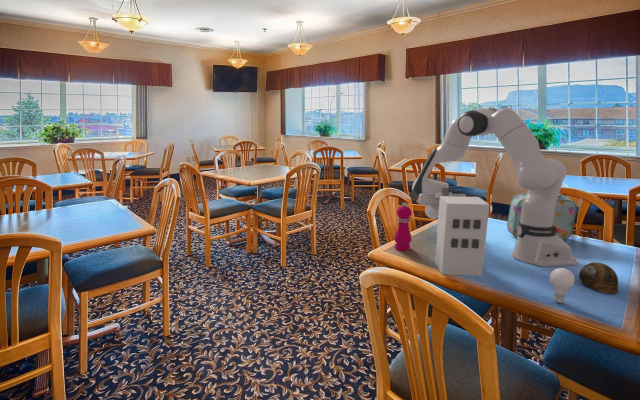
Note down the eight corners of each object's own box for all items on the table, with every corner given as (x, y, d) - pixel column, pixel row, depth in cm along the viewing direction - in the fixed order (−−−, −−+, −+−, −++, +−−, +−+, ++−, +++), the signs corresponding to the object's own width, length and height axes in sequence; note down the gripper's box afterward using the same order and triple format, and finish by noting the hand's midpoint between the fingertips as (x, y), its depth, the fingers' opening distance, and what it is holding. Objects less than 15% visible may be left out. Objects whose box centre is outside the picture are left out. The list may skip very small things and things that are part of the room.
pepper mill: (411, 252, 160) (413, 205, 155) (393, 250, 161) (395, 204, 156) (410, 246, 166) (413, 201, 162) (393, 245, 168) (395, 200, 163)
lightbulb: (567, 299, 119) (573, 266, 116) (573, 309, 113) (579, 274, 111) (544, 296, 121) (549, 263, 118) (548, 305, 115) (553, 271, 113)
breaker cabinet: (472, 263, 148) (478, 196, 142) (482, 276, 135) (490, 205, 130) (435, 261, 149) (439, 196, 143) (442, 275, 137) (447, 204, 131)
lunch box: (563, 235, 181) (569, 191, 176) (575, 243, 171) (582, 195, 166) (504, 234, 183) (509, 190, 178) (512, 241, 173) (518, 194, 168)
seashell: (571, 281, 132) (574, 259, 130) (594, 279, 134) (598, 257, 132) (599, 296, 121) (604, 272, 120) (625, 293, 123) (629, 270, 121)
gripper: (415, 196, 179) (420, 186, 166) (461, 197, 177) (469, 187, 164) (416, 209, 177) (421, 200, 164) (461, 210, 175) (470, 201, 162)
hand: (445, 193), depth 164 cm, fingers closed on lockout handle, 2 cm apart
